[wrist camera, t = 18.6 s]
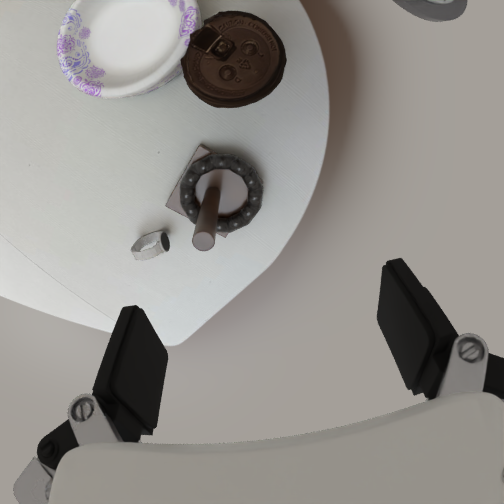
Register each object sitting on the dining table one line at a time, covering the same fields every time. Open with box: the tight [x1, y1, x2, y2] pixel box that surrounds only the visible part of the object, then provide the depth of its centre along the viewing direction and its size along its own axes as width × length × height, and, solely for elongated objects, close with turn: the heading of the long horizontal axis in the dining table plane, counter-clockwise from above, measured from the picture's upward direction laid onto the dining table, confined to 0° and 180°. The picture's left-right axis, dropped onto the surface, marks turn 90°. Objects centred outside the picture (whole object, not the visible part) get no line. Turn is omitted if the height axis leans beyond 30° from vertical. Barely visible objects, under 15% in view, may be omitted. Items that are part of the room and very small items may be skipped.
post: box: [165, 144, 263, 251], centre depth 31 cm, size 9×9×13 cm
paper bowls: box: [57, 0, 202, 99], centre depth 22 cm, size 15×15×8 cm
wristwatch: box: [131, 231, 170, 260], centre depth 38 cm, size 3×5×5 cm, turn 105°
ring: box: [180, 154, 263, 233], centre depth 35 cm, size 10×10×2 cm
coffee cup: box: [180, 11, 287, 108], centre depth 23 cm, size 9×8×13 cm
